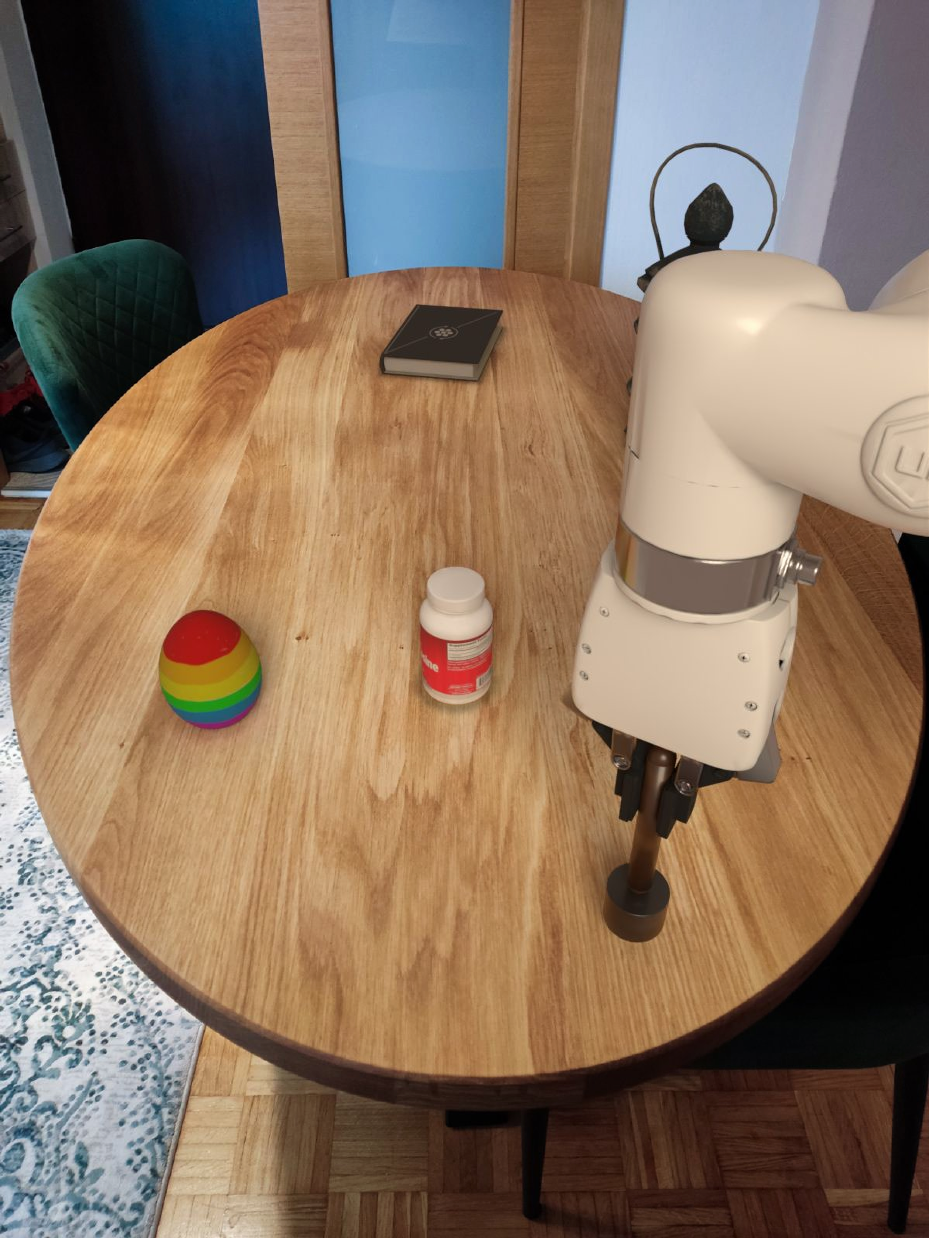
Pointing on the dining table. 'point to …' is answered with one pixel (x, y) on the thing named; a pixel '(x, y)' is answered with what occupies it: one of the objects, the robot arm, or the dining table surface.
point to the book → (442, 343)
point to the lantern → (700, 222)
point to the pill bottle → (456, 636)
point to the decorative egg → (209, 670)
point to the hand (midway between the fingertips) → (652, 810)
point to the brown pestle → (642, 862)
